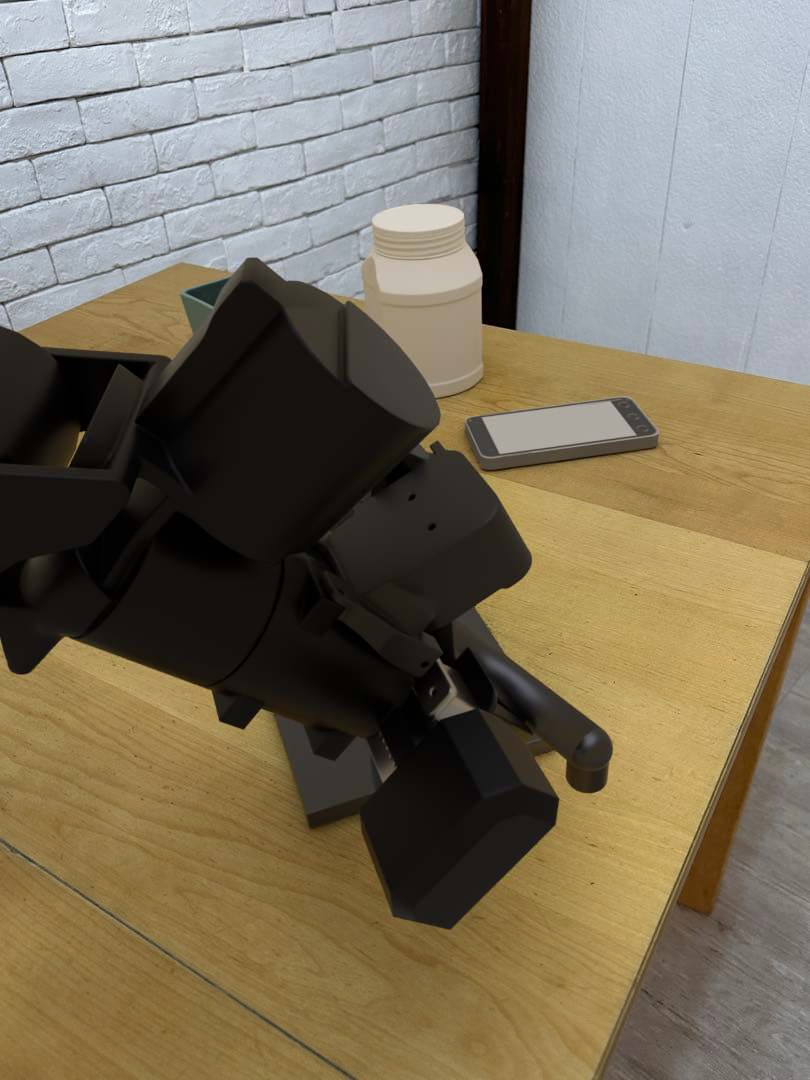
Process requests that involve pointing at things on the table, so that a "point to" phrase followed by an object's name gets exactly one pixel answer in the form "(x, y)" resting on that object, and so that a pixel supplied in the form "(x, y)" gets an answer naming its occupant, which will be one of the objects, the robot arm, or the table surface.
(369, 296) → the jar
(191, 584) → the robot arm
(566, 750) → the spout
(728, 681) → the table surface
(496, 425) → the smartphone
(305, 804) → the black flat block
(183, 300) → the flower pot
